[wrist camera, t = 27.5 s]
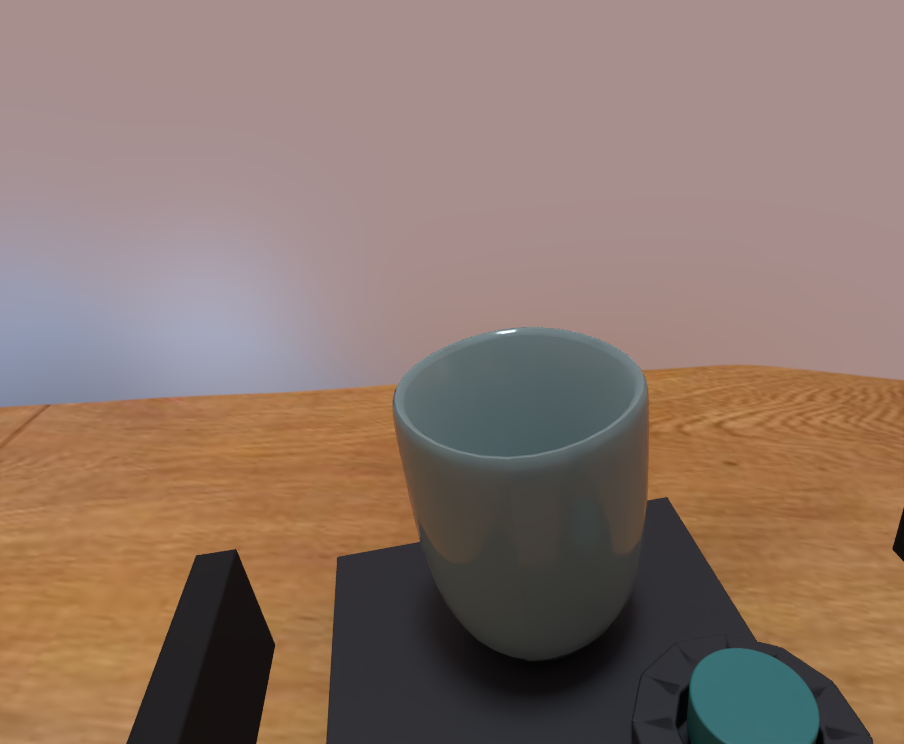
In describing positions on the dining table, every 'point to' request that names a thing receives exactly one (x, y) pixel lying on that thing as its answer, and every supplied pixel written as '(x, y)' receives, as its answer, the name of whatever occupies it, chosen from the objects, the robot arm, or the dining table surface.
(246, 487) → the dining table surface
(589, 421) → the cup
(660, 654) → the scale
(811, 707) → the button
